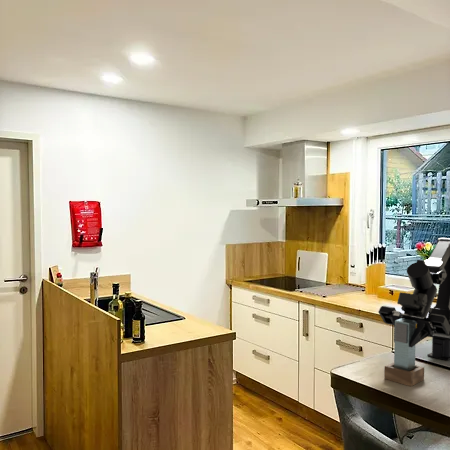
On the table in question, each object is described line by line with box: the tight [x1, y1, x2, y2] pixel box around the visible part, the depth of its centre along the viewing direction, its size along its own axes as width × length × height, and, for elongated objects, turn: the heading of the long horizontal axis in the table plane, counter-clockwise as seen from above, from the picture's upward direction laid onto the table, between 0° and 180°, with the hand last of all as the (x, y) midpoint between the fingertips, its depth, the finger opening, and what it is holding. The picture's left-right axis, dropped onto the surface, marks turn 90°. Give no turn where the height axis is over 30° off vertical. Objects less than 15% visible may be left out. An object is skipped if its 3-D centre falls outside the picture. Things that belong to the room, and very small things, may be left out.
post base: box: [383, 362, 425, 387], centre depth 128 cm, size 8×8×4 cm
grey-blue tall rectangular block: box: [393, 318, 417, 371], centre depth 128 cm, size 4×4×13 cm
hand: (402, 344), depth 127 cm, fingers closed on grey-blue tall rectangular block, 4 cm apart
